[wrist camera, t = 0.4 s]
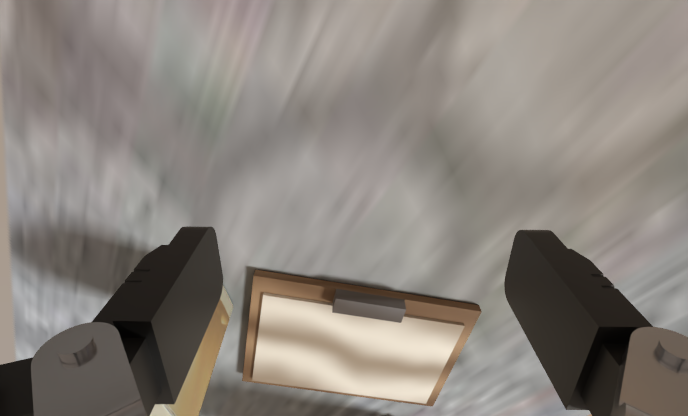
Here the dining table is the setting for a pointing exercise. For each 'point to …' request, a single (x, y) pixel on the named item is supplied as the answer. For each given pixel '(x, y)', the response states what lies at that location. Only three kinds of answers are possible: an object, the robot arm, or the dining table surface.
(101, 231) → the dining table surface
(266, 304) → the clipboard
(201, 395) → the skincare box
